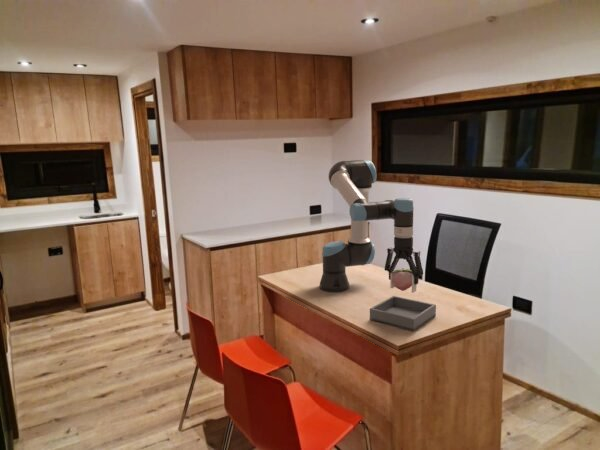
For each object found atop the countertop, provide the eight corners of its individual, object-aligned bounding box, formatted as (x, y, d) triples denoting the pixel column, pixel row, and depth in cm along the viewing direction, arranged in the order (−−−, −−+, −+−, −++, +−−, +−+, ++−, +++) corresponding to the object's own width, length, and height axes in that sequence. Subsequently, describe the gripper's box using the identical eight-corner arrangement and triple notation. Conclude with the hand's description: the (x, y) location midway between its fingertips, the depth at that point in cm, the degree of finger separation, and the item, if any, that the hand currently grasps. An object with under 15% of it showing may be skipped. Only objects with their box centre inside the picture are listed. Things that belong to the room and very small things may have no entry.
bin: (369, 320, 190) (369, 308, 189) (393, 306, 205) (393, 295, 204) (413, 331, 177) (413, 319, 176) (435, 316, 192) (435, 304, 191)
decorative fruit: (409, 286, 193) (410, 264, 192) (416, 293, 185) (417, 269, 184) (388, 288, 192) (388, 265, 191) (394, 294, 184) (394, 270, 183)
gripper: (375, 235, 189) (375, 287, 193) (424, 240, 175) (423, 296, 179) (384, 232, 195) (384, 282, 198) (432, 237, 181) (431, 291, 184)
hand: (403, 289), depth 189 cm, fingers closed on decorative fruit, 9 cm apart
